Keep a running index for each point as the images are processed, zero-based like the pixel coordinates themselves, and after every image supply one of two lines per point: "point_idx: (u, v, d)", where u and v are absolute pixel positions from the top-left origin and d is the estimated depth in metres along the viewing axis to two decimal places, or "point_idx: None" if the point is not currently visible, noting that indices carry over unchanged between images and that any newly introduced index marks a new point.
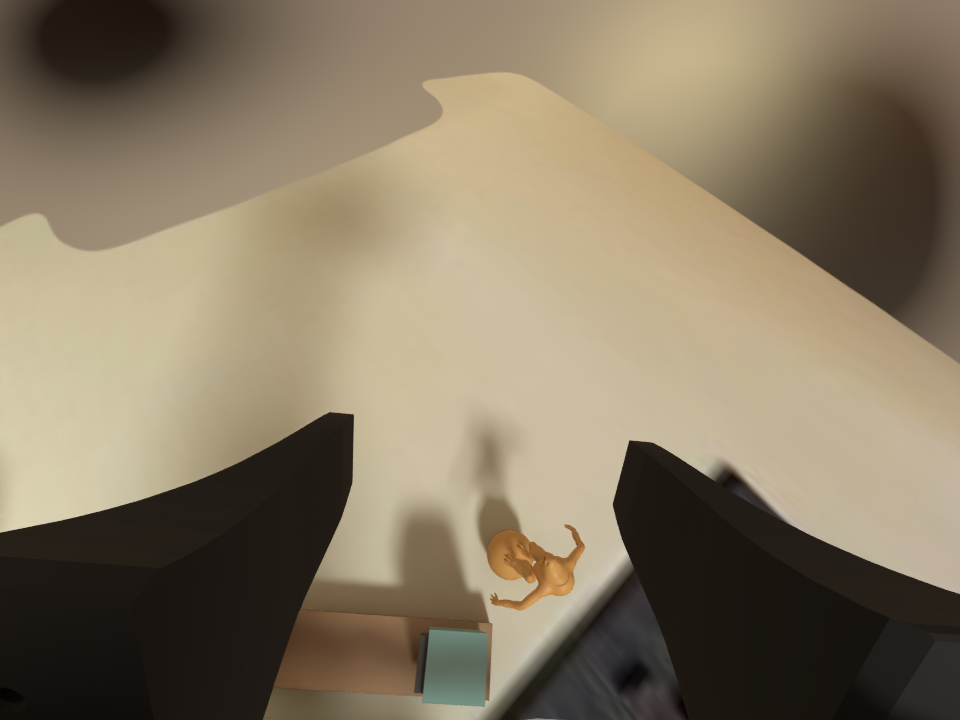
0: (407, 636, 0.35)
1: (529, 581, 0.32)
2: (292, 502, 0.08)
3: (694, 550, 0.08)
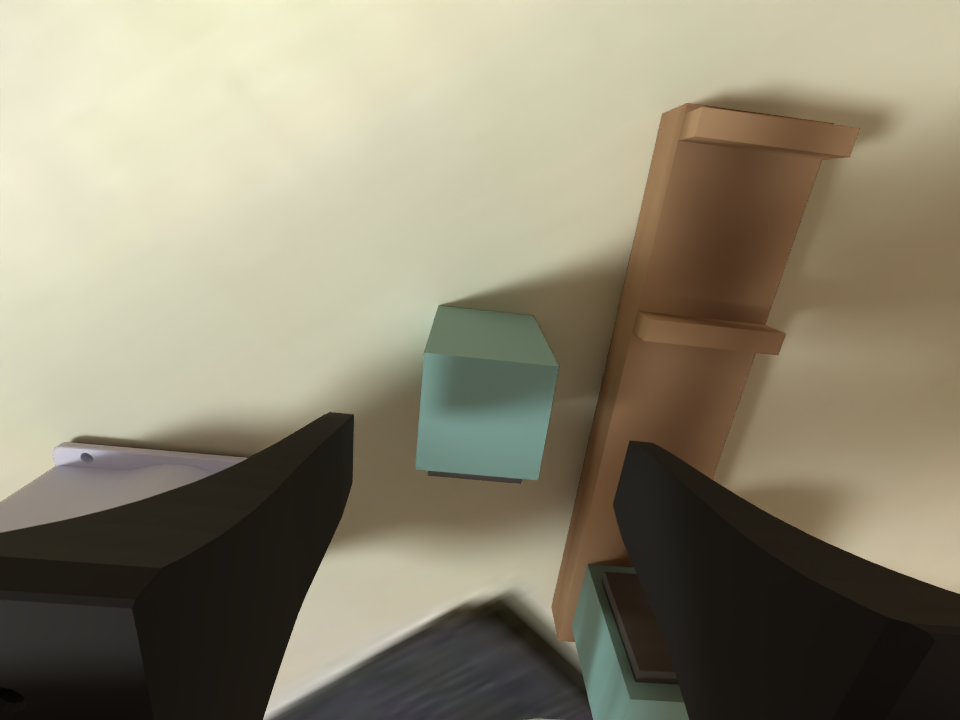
0: None
1: None
2: (292, 502, 0.08)
3: (694, 550, 0.08)
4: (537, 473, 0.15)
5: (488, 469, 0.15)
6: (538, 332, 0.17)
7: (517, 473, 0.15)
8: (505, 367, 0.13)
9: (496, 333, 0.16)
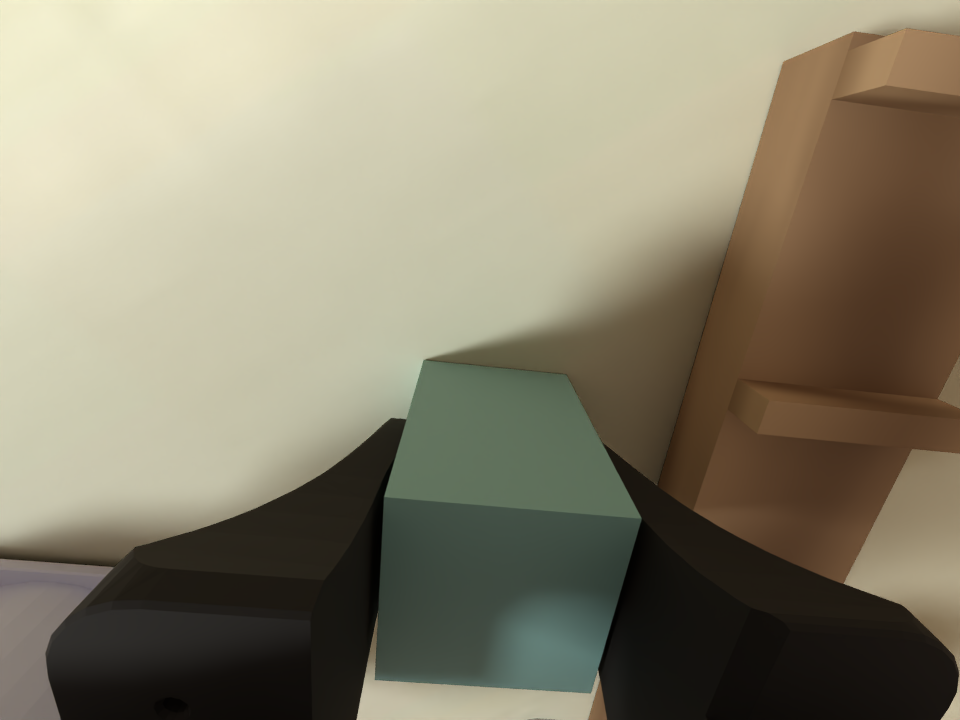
0: None
1: None
2: (380, 509, 0.08)
3: None
4: (590, 683, 0.08)
5: (504, 678, 0.08)
6: (582, 415, 0.10)
7: (555, 683, 0.08)
8: (539, 521, 0.07)
9: (515, 423, 0.10)
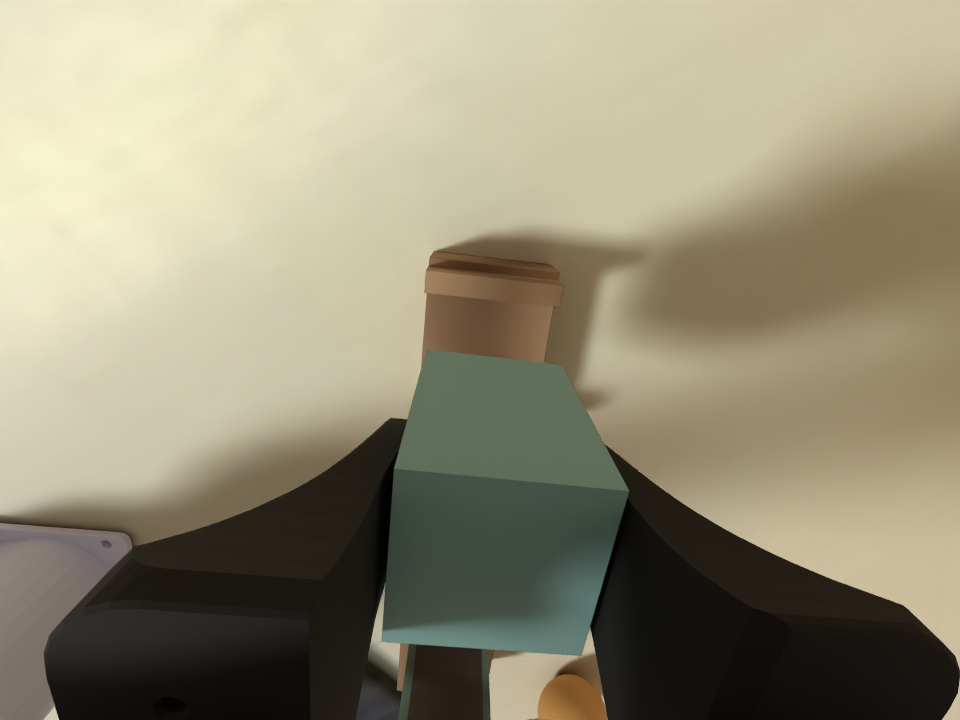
0: None
1: None
2: (379, 509, 0.08)
3: (615, 544, 0.08)
4: (581, 646, 0.09)
5: (501, 641, 0.09)
6: (576, 401, 0.11)
7: (548, 646, 0.09)
8: (535, 492, 0.08)
9: (514, 407, 0.10)
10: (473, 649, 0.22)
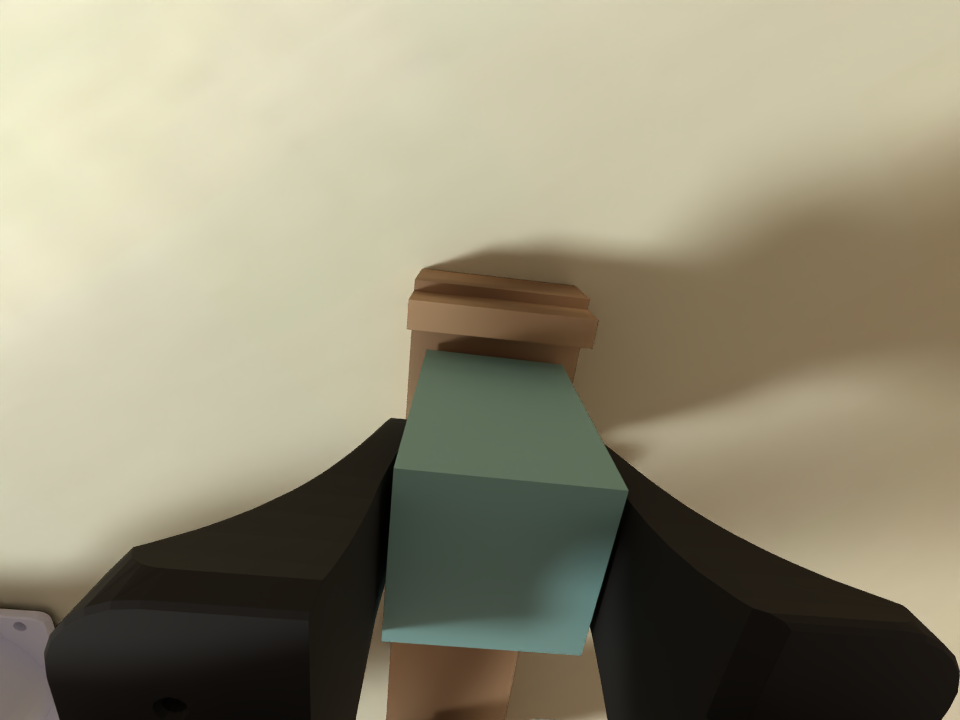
0: (477, 704, 0.19)
1: None
2: (379, 509, 0.08)
3: (615, 544, 0.08)
4: (581, 646, 0.09)
5: (501, 640, 0.09)
6: (576, 401, 0.11)
7: (548, 646, 0.09)
8: (535, 492, 0.08)
9: (514, 407, 0.10)
10: None
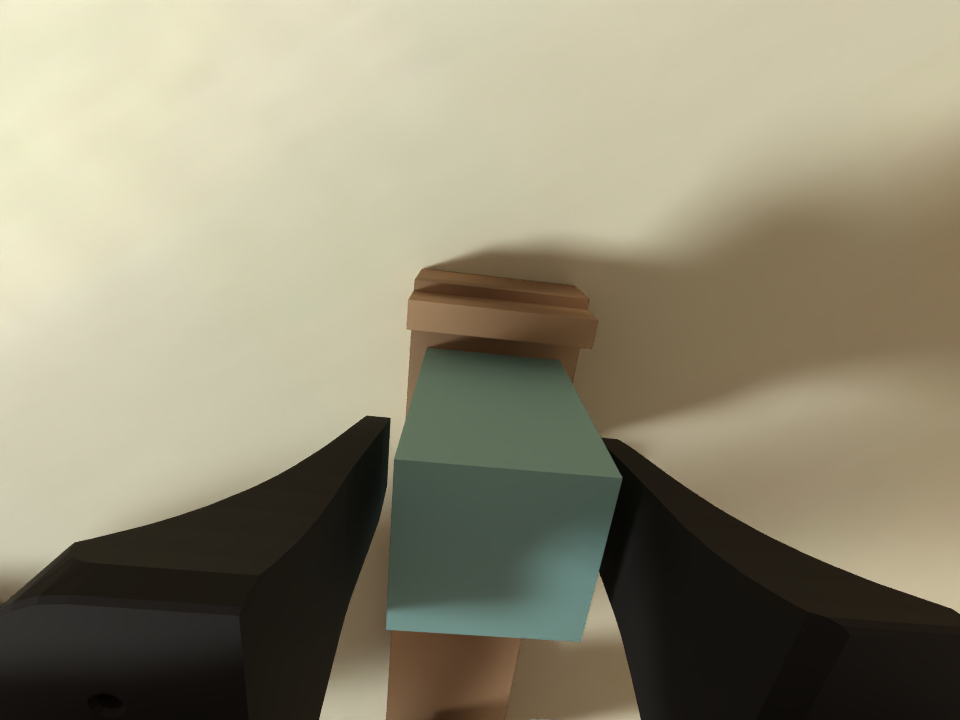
0: (477, 704, 0.19)
1: None
2: (345, 507, 0.08)
3: (647, 546, 0.08)
4: (580, 632, 0.09)
5: (502, 628, 0.09)
6: (573, 395, 0.11)
7: (548, 632, 0.09)
8: (531, 480, 0.08)
9: (511, 401, 0.10)
10: None
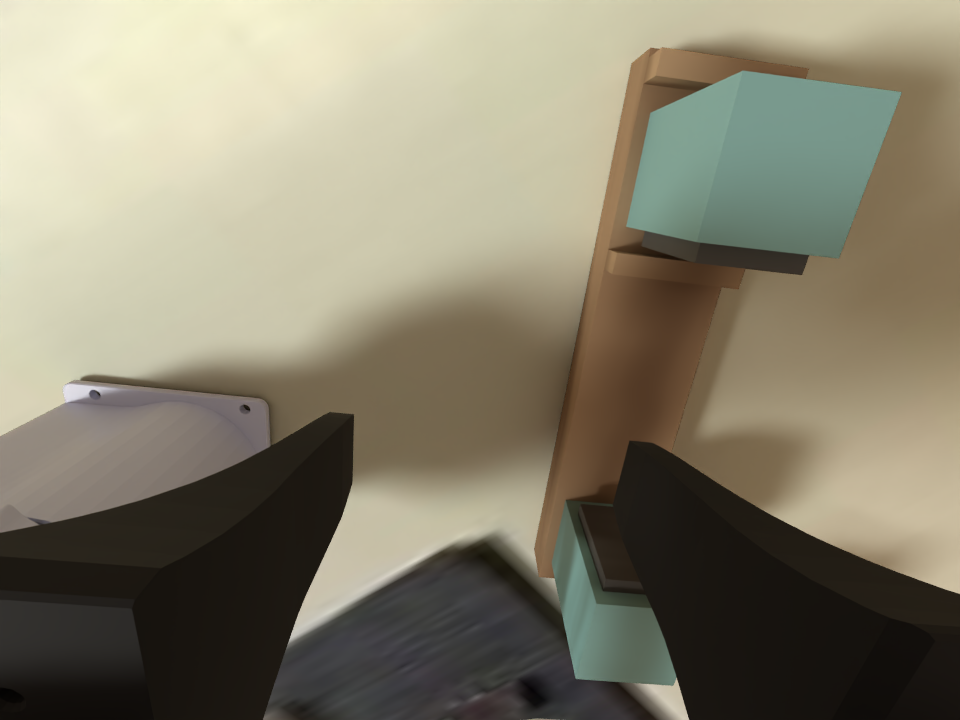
0: None
1: None
2: (292, 502, 0.08)
3: (694, 550, 0.08)
4: (840, 248, 0.12)
5: (783, 242, 0.12)
6: None
7: (816, 248, 0.12)
8: (836, 93, 0.11)
9: None
10: None
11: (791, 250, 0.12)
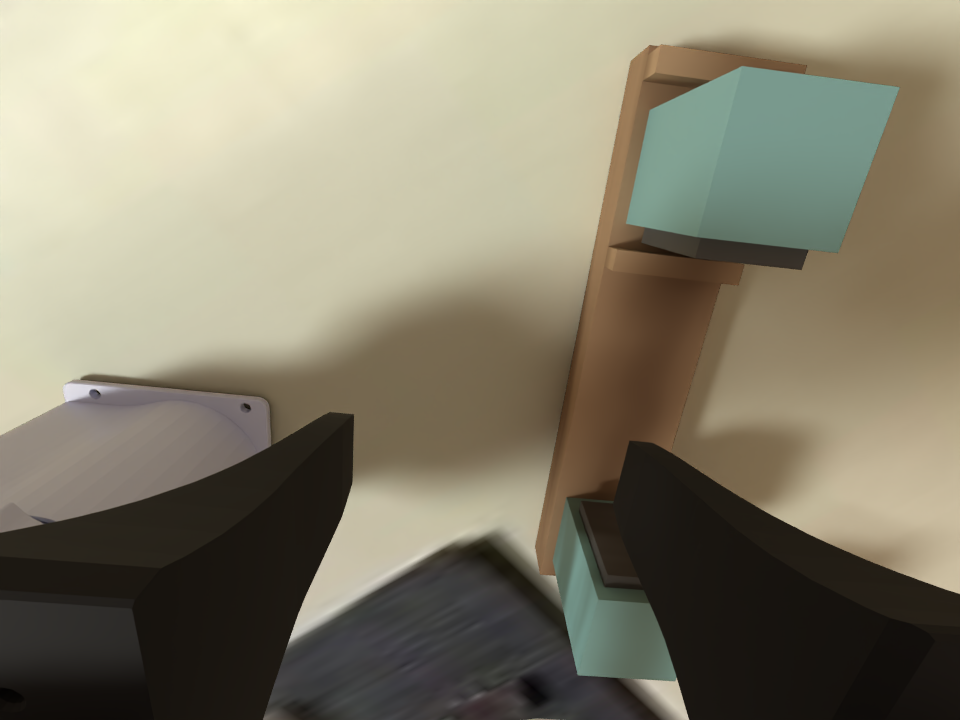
0: None
1: None
2: (292, 502, 0.08)
3: (694, 550, 0.08)
4: (840, 242, 0.12)
5: (783, 237, 0.12)
6: None
7: (816, 243, 0.12)
8: (834, 88, 0.11)
9: None
10: None
11: (791, 245, 0.12)
